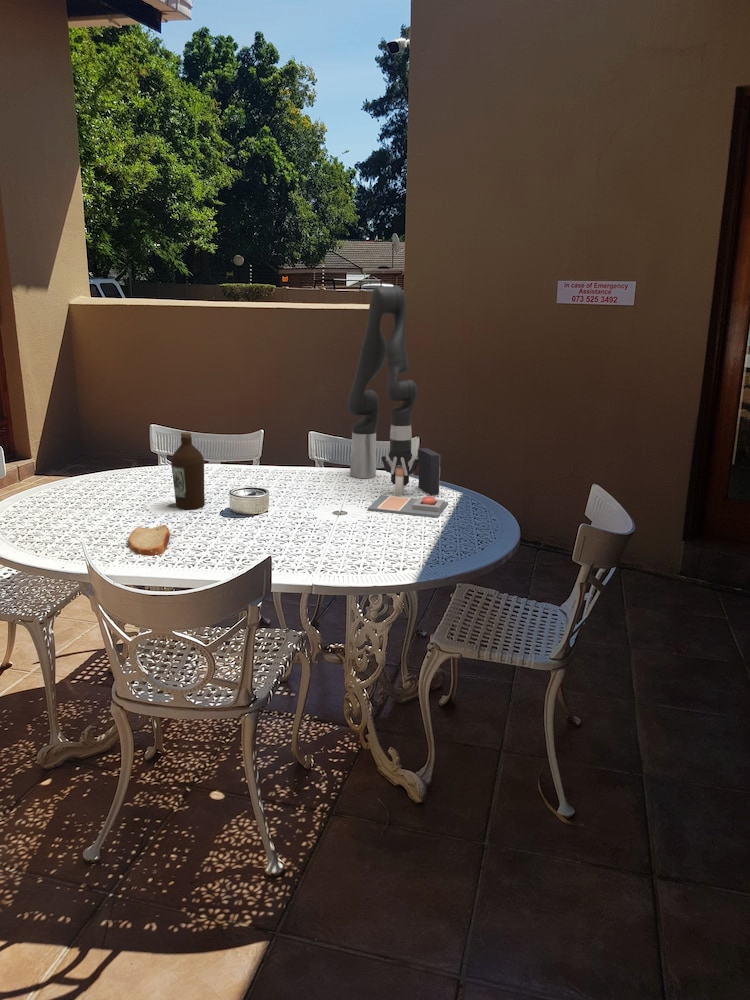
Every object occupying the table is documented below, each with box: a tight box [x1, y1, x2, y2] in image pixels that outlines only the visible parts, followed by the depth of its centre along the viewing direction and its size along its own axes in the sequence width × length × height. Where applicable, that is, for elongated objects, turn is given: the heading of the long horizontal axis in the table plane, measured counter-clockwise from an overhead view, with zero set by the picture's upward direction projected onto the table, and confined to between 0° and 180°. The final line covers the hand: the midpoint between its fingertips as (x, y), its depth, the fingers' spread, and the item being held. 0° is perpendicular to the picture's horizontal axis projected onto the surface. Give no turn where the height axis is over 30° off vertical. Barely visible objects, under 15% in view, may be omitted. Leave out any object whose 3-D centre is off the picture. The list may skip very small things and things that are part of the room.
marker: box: [394, 465, 405, 497], centre depth 267 cm, size 4×4×10 cm
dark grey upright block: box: [417, 447, 441, 496], centre depth 270 cm, size 11×4×15 cm, turn 22°
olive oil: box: [170, 431, 206, 511], centre depth 248 cm, size 11×11×25 cm
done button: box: [421, 496, 436, 505], centre depth 250 cm, size 4×4×2 cm
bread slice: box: [127, 524, 171, 557], centre depth 217 cm, size 18×18×4 cm
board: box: [367, 494, 449, 519], centre depth 253 cm, size 24×16×2 cm, turn 73°
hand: (399, 484), depth 267 cm, fingers closed on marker, 3 cm apart
